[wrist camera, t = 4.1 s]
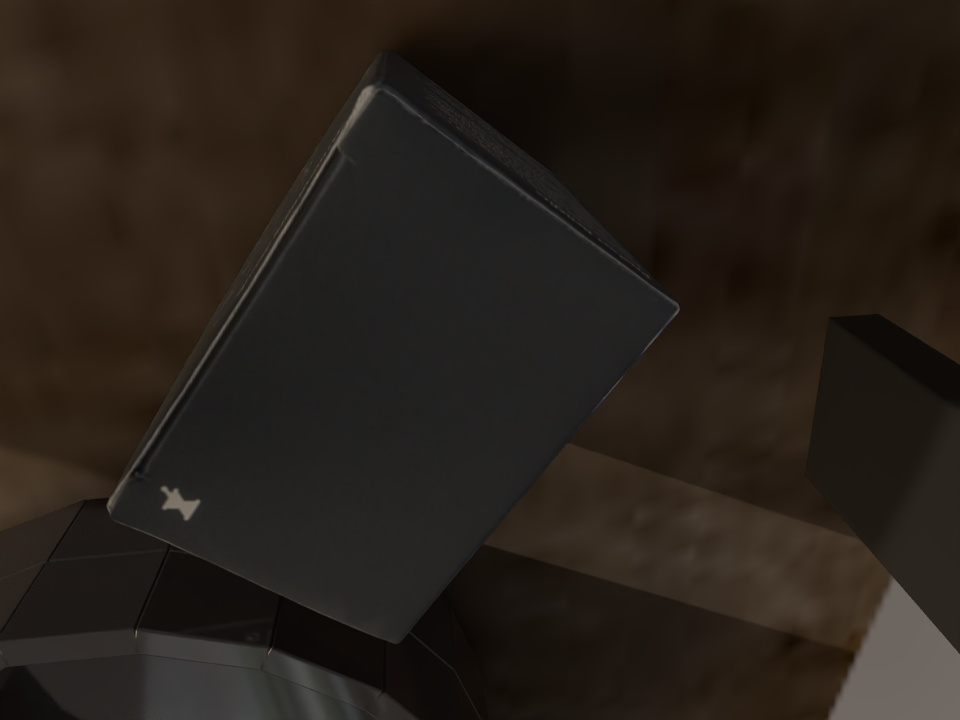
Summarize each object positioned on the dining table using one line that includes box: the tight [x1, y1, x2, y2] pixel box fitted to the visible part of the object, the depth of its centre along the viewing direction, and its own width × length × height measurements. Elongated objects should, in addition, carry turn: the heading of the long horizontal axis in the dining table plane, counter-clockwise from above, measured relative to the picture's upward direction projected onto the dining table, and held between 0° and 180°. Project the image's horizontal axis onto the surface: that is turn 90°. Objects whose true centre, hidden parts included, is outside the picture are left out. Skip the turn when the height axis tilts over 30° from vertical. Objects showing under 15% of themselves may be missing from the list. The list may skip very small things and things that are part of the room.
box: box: [107, 50, 680, 644], centre depth 16 cm, size 8×6×11 cm
